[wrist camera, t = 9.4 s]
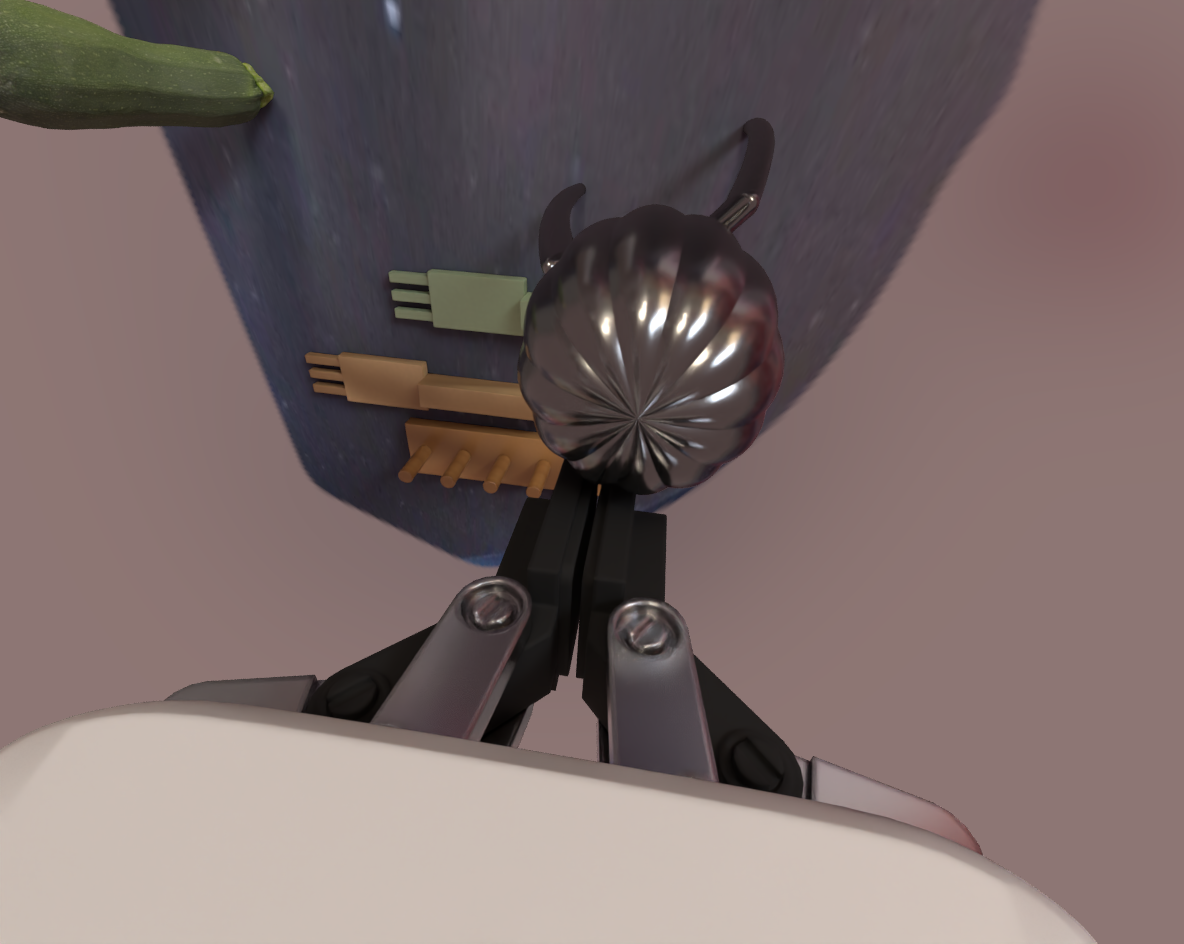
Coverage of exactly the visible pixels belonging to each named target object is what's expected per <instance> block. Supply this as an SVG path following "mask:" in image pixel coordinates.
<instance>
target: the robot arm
mask: <svg viewBox="0 0 1184 944" xmlns="http://www.w3.org/2000/svg"><path fill="white" fill-rule="evenodd" d="M597 493H598V484H595V483H592V482H590V481H587V480H586V479H584V478H582V477H581V476H580V475H579V474H578V473H577V472H576V471H575V470H574V469H573V467H572V466H571V465H570V463H569V461H568V460H566V459H564V461H563V464H562V467H561V470H560V473H559V476H558V479H557V482H556V485H555V488H554V491H553V494H552V497H551V500H548V499H540V498H533V497H528V498H527V500H526V502H525V504H524V506H523V509H522V511H521V514H520V516H519V519H518V521H517V524H516V526H515V529H514V531H513V534H512V536H511V539H510V541H509V544H508V546H507V549H506V551H505V554H504V556H503V559H502V561H501V564H500V566H499V569H498V572H497V574H496V576H491V577H484V578H481V579H478V580H475V581H473V582H471V583H470V584H468V585H467V586H465V587H464V588H463V589H462V590H461V591H460V592H459V593H458V594H457V595H456V597H455V598H454V600H453V601H452V603H451V604H450V605H449V607H448V608H447V610H446V611H445V613H444V615H443V616H442V617H441V619H440V620H439V622H438V623H437V624H435V625H433V626H430V627H428V628H427V629H424V630H422V631H420V632H418V633H416V634H414V635H412V636H410V637H408V638H406V639H404V640H402V641H399V642H397V643H395V644H394V645H391V646H389V647H387V648H385V649H383V650H381V651H379V652H377V653H375V654H373V655H371V656H369V657H367V658H365V659H362V660H360V661H359V662H356V663H354V664H352V665H350V666H348V667H346V668H344V669H342V670H340V671H339V672H337V673H335V674H334V675H332V676H331V677H329V678H328V679H327V680H317V678H316V676H315V675H305V676H288V677H271V678H254V679H237V680H222V681H206V682H202V683H197V684H192V685H189V686H187V687H185V688H183V689H181V690H179V691H177V692H175V693H173V694H172V695H170V696H169V697H168V698H167V699H165V700H164V701H153V702H143V703H134V704H127V705H122V706H116V707H111V708H107V709H101V710H96V711H91V712H87V713H83V714H80V715H76V716H72V717H69V718H66V719H63V720H60V721H57V722H54V723H51V724H49V725H46V726H43V727H41V728H39V729H37V730H35V731H32V732H30V733H28V734H26V735H24V736H22V737H20V738H18V739H17V740H15V741H14V742H12V743H10V744H9V745H7V746H5V747H4V748H2V749H1V750H0V944H1098V943H1097V942H1096V941H1095V940H1094V939H1093V937H1092V936H1091V935H1090V934H1089V933H1088V932H1087V931H1086V930H1085V928H1084V927H1083V926H1082V925H1081V924H1080V923H1078V922H1077V921H1076V920H1075V919H1074V918H1073V917H1072V916H1071V915H1070V914H1068V913H1067V912H1066V911H1065V910H1064V909H1063V908H1062V907H1061V906H1060V905H1058V904H1057V903H1055V902H1054V901H1053V900H1051V899H1050V898H1049V897H1047V896H1046V895H1045V894H1043V893H1042V892H1041V891H1039V890H1038V889H1036V888H1035V887H1033V886H1032V885H1030V884H1029V883H1027V882H1026V881H1024V880H1023V879H1021V878H1020V877H1018V876H1017V875H1015V874H1014V873H1012V872H1010V871H1008V870H1007V869H1005V868H1003V867H1002V866H1000V865H998V864H997V863H995V862H993V861H992V860H990V859H988V858H987V857H984V856H983V854H982V851H981V849H980V846H979V844H978V843H977V841H976V840H975V838H974V837H973V836H972V834H971V833H970V831H969V830H968V829H967V827H966V826H965V825H964V824H963V823H962V822H960V821H959V820H958V819H957V818H956V817H955V816H954V815H953V814H952V813H950V812H949V811H947V810H945V809H943V808H942V807H940V806H938V805H936V804H935V803H933V802H930V801H927V800H925V799H922V798H920V797H917V796H915V795H912V794H909V793H907V792H904V791H902V790H899V789H896V788H894V787H891V786H889V785H886V784H884V783H881V782H879V781H876V780H873V779H871V778H868V777H866V776H863V775H860V774H858V773H855V772H853V771H850V770H848V769H845V768H843V767H840V766H837V765H835V764H832V763H830V762H827V761H825V760H822V759H819V758H817V757H814V756H813V757H812V759H811V760H810V761H808V760H805V759H803V758H800V757H798V756H795V755H794V754H793V752H792V751H791V750H790V749H789V747H788V746H787V745H786V744H785V743H784V741H783V740H782V739H781V738H780V737H779V736H778V735H777V734H775V732H773V731H772V730H771V729H770V728H769V727H768V726H767V725H766V724H765V723H764V722H763V721H762V720H761V719H760V718H759V717H758V716H757V715H756V714H755V713H754V712H753V711H752V710H751V709H750V708H749V707H747V705H746V704H745V703H744V702H743V701H741V700H740V699H739V698H738V697H737V696H736V695H735V694H734V693H733V692H732V691H731V690H730V689H729V688H728V687H727V686H726V685H725V684H724V683H723V682H722V681H721V680H720V679H719V678H718V677H716V675H715V674H714V673H713V672H711V671H710V669H708V668H707V667H706V666H705V665H704V664H703V663H702V662H701V661H700V660H699V659H698V658H697V657H696V656H695V655H694V654H693V650H692V646H691V640H690V636H689V632H688V627H687V625H686V622H685V620H684V618H683V617H682V616H681V614H680V613H679V612H678V611H677V610H676V609H675V608H673V607H672V606H671V605H669V604H668V603H666V602H665V563H666V526H667V524H666V523H667V516H666V515H664V514H657V513H649V512H641V511H634V505H635V496H636V494H633V493H630V492H627V491H625V490H623V489H621V488H620V487H618V486H617V485H601V489H600V493H599V498H598V503H597ZM596 506H597V508H596ZM579 619H580V620H579ZM578 624H579V636H578V653H577V668H576V677H577V678H582V679H583V691H582V699H583V700H584V701H585V702H586V704H587V705H588V706H589V708H590V709H591V710H592V712H594V714H595V715H596V717H597V762H596V761H589V760H584V759H578V758H572V757H566V756H560V755H554V754H548V753H542V752H537V751H531V750H525V749H519V748H518V746H519V744H520V742H521V739H522V737H523V734H524V732H525V729H526V727H527V724H528V722H529V720H530V717H531V714H532V710H533V706H534V703H535V702H537V701H538V700H540V699H541V698H543V697H544V696H546V695H547V694H549V693H550V691H551V690H554V691H555V690H556V686H557V682H558V677H559V675H563V676H568V674H569V670H570V665H571V660H572V655H573V650H574V645H575V640H576V634H577V629H578Z"/></svg>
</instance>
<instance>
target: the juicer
mask: <svg viewBox="0 0 1184 944" xmlns="http://www.w3.org/2000/svg"><path fill="white" fill-rule="evenodd" d="M743 132H744V134H746V135H748V145H747V150H746V154H745V157H744V161H743V163H742V166H741V169H740V171H739V174H738V176H737V179H736V181H735V183H734V185H733V187H732V189H731V191H730V193H729V195H728V197H727V199H726V201H725V202H724V203H723V204H722V205H721V206H720V207H719V208H718V209H717V210H716V211H715V212H714V213H712V214H711V215H710V216H709V217H708V216H704V215H696V214H691V215H684V214H683V213H681V212H680V211H678V210H676V209H674V208H672V207H669V206H665V205H659V204H651V205H645V206H642V207H639V208H637V209H635V210H633V211H631V212H629V213H628V214H626V215H625V216H623V217H616V218H609V219H604V220H601V221H598V222H596V223H594V224H592V225H590V226H588V227H587V228H585V229H584V230H583V231H582V232H581V233H579V234H578V235H577V236H576V237H575V238H574V239H573V237H572V233H571V229H570V214H571V210H572V208H573V206H574V204H575V203H576V202H577V200H578V199H579V198H580V197H581V196H583V195H584V194H585V192H586V187H585V185H584V184H582V183H578V184H575V185H572V186H570V187H568V188H566V189H564V190H562V191H561V192H560V193H558V194H557V195H556V196H555V197H554V198H553V199H552V201H551V202H550V203H549V205H548V206H547V208H546V210H545V212H544V214H543V217H542V220H541V224H540V229H539V257H540V264H541V268H542V271H543V273H544V274H545V275H544V276H543V277H542V278H541V280H540V281H539V282H538V284H537V285H536V287H535V289H534V291H533V292H532V294H531V296H530V299H529V301H528V304H527V308H526V311H525V316H524V324H523V337H524V341H523V344H522V347H521V350H520V354H519V359H518V366H517V370H518V382H519V387H520V391H521V393H522V396H523V398H524V400H525V402H526V404H527V405H528V407H529V408H530V410H531V411H532V412H533V419H534V424H535V428H536V430H537V433H538V435H539V437H540V439H541V440H542V442H543V443H544V444H545V445H546V447H547V448H548V449H549V450H550V451H552V452H553V453H554V454H556V455H558V456H559V457H561V458H563V459H566V460H568V461H569V463H570V465H571V466H572V467H573V469H574V470H575V471H576V472H577V473H578V474H579V475H580V476H581V477H582V478H584V479H586V480H587V481H590V482H592V483H595V484H599V485H617V486H618V487H620V488H621V489H623V490H625V491H627V492H630V493H633V494H638V495H649V494H654V493H657V492H660V491H662V490H664V489H666V488H668V487H672V488H688V487H693V486H696V485H699V484H701V483H702V482H704V481H706V480H708V479H709V478H710V477H711V476H713V475H714V473H715V472H716V471H717V470H718V469H719V468H720V467H721V465H722V464H724V463H727V462H729V461H732V460H734V459H735V458H737V457H738V456H740V455H741V454H743V453H744V452H745V451H746V450H747V449H748V448H749V447H750V446H751V445H752V443H753V442H754V440H755V439H756V437H757V436H758V434H759V432H760V429H761V427H762V424H763V421H764V417H765V412H766V410H767V408H768V407H769V406H770V404H771V403H772V401H773V400H774V398H775V396H776V394H777V392H778V390H779V387H780V384H781V380H782V377H783V371H784V351H783V344H782V339H781V336H780V333H779V330H778V307H777V299H776V295H775V292H774V289H773V286H772V283H771V281H770V279H769V277H768V275H767V274H766V272H765V270H764V269H763V268H762V266H761V265H760V264H759V263H758V262H757V261H756V260H755V259H754V258H753V257H752V256H751V255H749V254H748V253H747V252H745V251H743V250H742V249H741V246H740V244H739V243H738V241H737V239H736V238H735V236H734V235H733V234H732V233H733V232H734V231H735V230H736V229H737V228H738V227H739V226H740V225H742V224H743V223H744V222H745V221H746V220H747V219H748V218H750V217H751V216H752V215H753V214H754V213H755V212H756V210H757V208H758V206H759V203H760V200H761V197H762V194H763V191H764V188H765V185H766V181H767V178H768V175H769V171H770V167H771V163H772V159H773V153H774V146H775V137H774V131H773V128H772V126H771V124H770V123H769V122H768V121H766V120H765V119H762V118H754V119H751V120H749V121H747V122H746V123H745V124H744V126H743Z"/></svg>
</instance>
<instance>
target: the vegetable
mask: <svg viewBox="0 0 1184 944" xmlns="http://www.w3.org/2000/svg"><path fill="white" fill-rule="evenodd" d="M273 94H274V92H273V91H272V89H271V88H270V87H269V86H268V85H267V84H266V83H265V82H264V81H263V79H262V78H261V77H260V76H258V75H257V73H256V72H255V71H254V69H253V68H252V66H251V65H249V64H247V63H242V62H240V61H239V60H238V59H237V58H236V57H234V56H232V55H229V54H227V53H223V52H219V51H209V50H203V49H197V48H191V47H185V46H178V45H172V44H155V43H150V42H146V41H141V40H137V39H132V38H127V37H124V36H121V35H118V34H115V33H113V32H111V31H109V30H107V29H104V28H102V27H100V26H98V25H96V24H94V23H92V22H89V21H87V20H84V19H82V18H79V17H76V16H73V15H70V14H66V13H64V12H61V11H58V10H55V9H52V8H49V7H47V6H44V5H41V4H37V3H33V2H29V1H25V0H0V117H2V118H5V119H9V120H12V121H16V122H19V123H23V124H27V125H32V126H38V127H42V128H47V129H62V130H63V129H64V130H77V129H107V128H108V129H109V128H120V127H132V126H188V127H224V126H229V125H235V124H241V123H245V122H248V121H250V120H252V119H253V118H255V117H256V115H257V114H258V113H259V111H260V108H262V107H264V106H266V105H267V104H268V103H269V102H270V100H272V99H273Z"/></svg>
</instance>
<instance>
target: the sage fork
mask: <svg viewBox="0 0 1184 944" xmlns="http://www.w3.org/2000/svg"><path fill="white" fill-rule="evenodd" d="M389 280H390V282H395V283H405V284H416V285H426V286H429V292H426V291H415V290H405V289H394V290H392V291H391V293H392V299H393V300H394V301H404V302H415V303H425V304H431V309H432V310H430V309H420V308H410V307H400V306H398V307H397V308H395V309H394V310H395V316H396V318H403V319H413V320H423V321H433V325H434V327H438V328H448V329H457V330H467V331H477V332H487V333H496V334H506V335H516V336H523V324H524V316H525V311H526V308H527V304H528V301H529V299H530V296H531V294H532V293H530V292H527V278H524V277H514V276H503V275H492V274H481V273H470V272H460V271H449V270H438V269H431V270H429V271H428V272H427V273H416V272H405V271H394V270H392V271H390V272H389Z"/></svg>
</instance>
